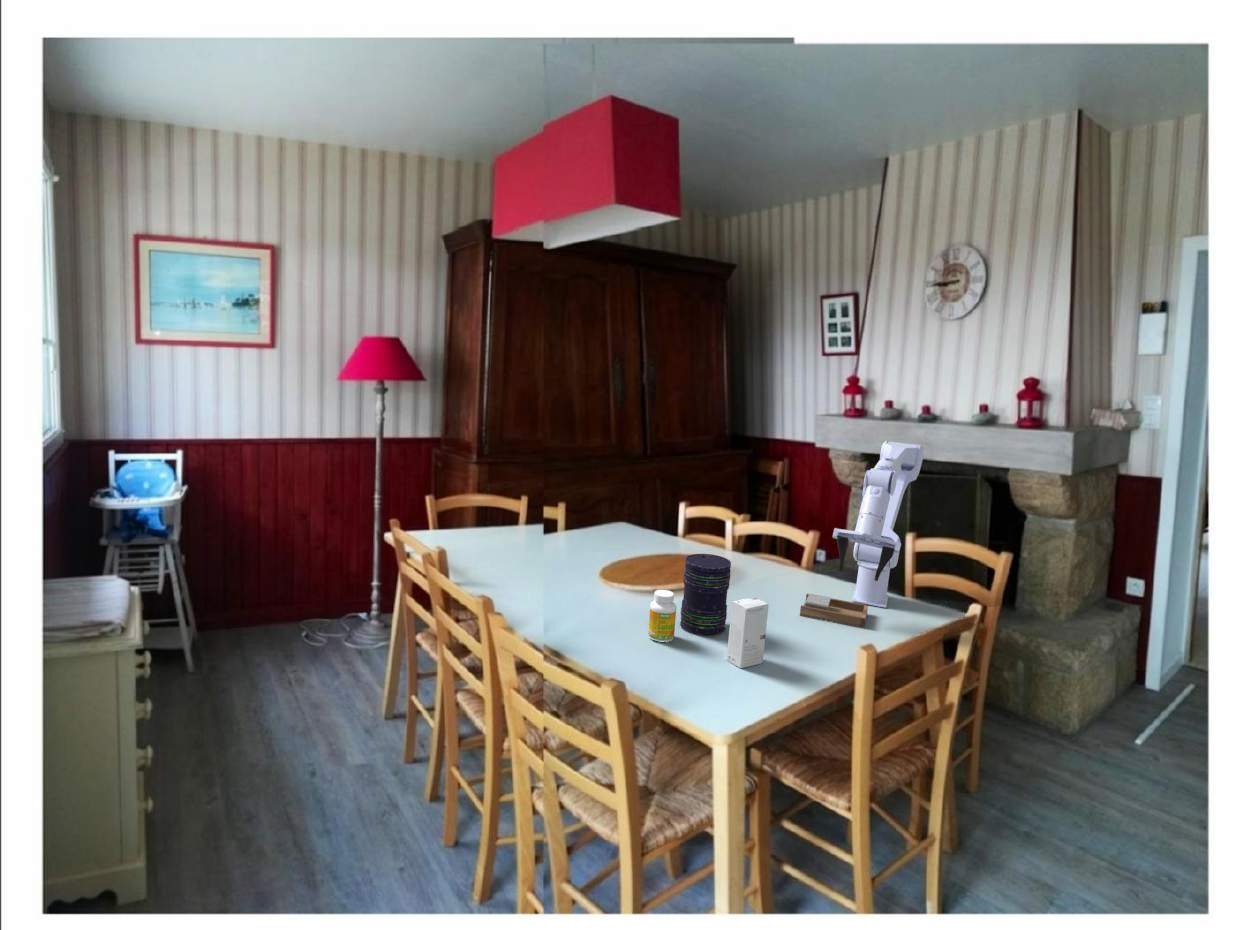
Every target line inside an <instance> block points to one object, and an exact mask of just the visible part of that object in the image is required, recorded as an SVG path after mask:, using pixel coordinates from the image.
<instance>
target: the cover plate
mask: <svg viewBox="0 0 1236 930" xmlns="http://www.w3.org/2000/svg"><path fill="white" fill-rule="evenodd" d="M808 594H809V596H808V598H807V600H806V599H805V602H806V604H805V603H804V604H805V606H807V607H812V608H817V609H823V610H828V611H829V609H830V603H831V598H832V597H831V596H826V595H821V594H814V593H808Z"/></svg>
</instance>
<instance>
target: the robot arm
mask: <svg viewBox="0 0 1236 930" xmlns="http://www.w3.org/2000/svg"><path fill="white" fill-rule="evenodd" d="M924 453H925V452H924V446H923V445H922V444H913V443H904V442H896V441H889V440H885V441H883V443H882V444H881V449H880V454H879V460H878V462H877V463H876V464H875V466H874V468H870V470H869V469H867V470H866V472H865V475H864V479H863V488H862V489H863V490H862V493H861V495H862V500H861V504H860V508H859V512H858V517H857V521H856V525H855V529H854V530H849V529H841V528H837V527H834V529H833V533H832V539H836V544H837V549H838V555H839V566H838V567H839V568H838V571H839V572H840V573H843V571H844V566H845V559H846V554H847V551H848V548H849V542H851V543H854V545H853V555H852V556H853V558H854V561H856V562H857V564H856V565H858V569H857V570H858V572H857V576H856V577H857V578H856V586H855V589H854V592H853V594H852V595H853V596H852V600H851V602H854V603H859V604H865V605H868V606H875V607H880V608H884V609H885V608H887V607H888V600H889V594H888V587H889V586H888V585H889V578H890V572H891V569H894V568H895V567H897V564H898V562H899V561H898V560H899V556H900V550H901V546H902V543H901V539H900V537H899V535H898V534H897V533H896V532H895V531H894V528H895V524H896V520H897V517H898V515H899V510H900V507H901V504H902V500H903V497H904V494H905V491H906V489H907V487H908V485H909V483H911V482H914V481H916V480H918V479H917V478H918V476H919V474H920V471H921V467H922V464H923V459H924Z"/></svg>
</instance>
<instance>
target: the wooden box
mask: <svg viewBox="0 0 1236 930" xmlns="http://www.w3.org/2000/svg"><path fill="white" fill-rule="evenodd" d="M809 594H810V593H806V594H805V595H806V596H805V601H804V602H805V603H803V605H802V604H801V605H800V609H799V616H800V617H806V618H810V619H815V618H818V619H817V620H820V619H822V620H821V621H825V620H827V621H826V622H830V621H833V622H832V623H835V622H837V623H836V624H840V625H844V626H851V627H856V628H861V629H865V626H866V621H867V616H868V610H869V605H868V604H863V603H857V602H853V601H849V600H848V601H847V600H843V599H837V598H832V597H831V603H830V609H829V611H828V610H823V609H817V608H812V607H807V606H805V604H806V600H807V598H808V596H809Z"/></svg>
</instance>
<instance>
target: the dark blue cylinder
mask: <svg viewBox="0 0 1236 930" xmlns="http://www.w3.org/2000/svg"><path fill="white" fill-rule="evenodd" d="M684 562H685V564H684V570H683V587H684V588H683V599H682V601H681V607H680V619H681V620H680V622H679V626H681V627H680V629H682V630H683V631H684V632H687V633H688V634H691V635H695V636H699V637H716V636H719V635H722V634H723V633H725V631H726V625H725V624H726V621H727V617H728V613H727V610H728V604H727V598H728V590H729V588H730V581H731V567H732V562H731V560H730V559H728V558H726V557H724V556H721V555H718V554H717V555H716V554H710V553H693V554H690V555H687V556H686V557H685V561H684Z"/></svg>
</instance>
